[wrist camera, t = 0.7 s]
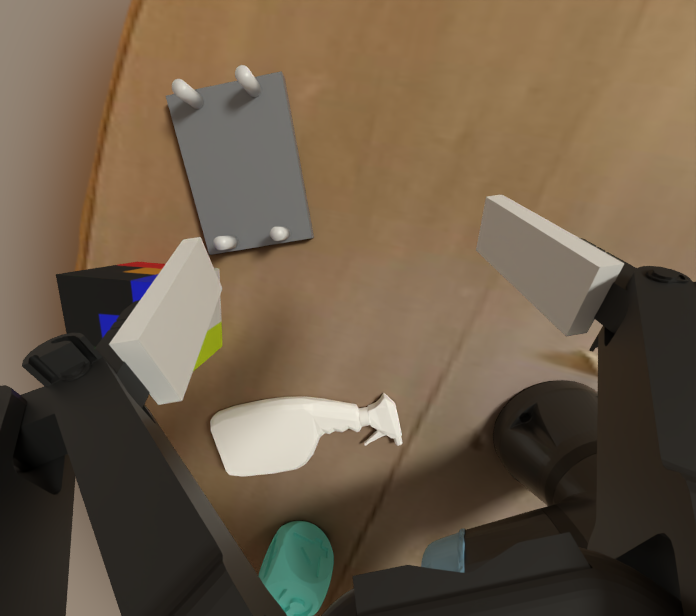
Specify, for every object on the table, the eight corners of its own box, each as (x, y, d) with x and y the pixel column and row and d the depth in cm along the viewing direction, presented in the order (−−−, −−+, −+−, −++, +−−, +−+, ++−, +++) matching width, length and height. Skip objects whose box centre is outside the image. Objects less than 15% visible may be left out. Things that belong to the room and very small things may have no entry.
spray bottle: (213, 403, 41) (390, 373, 39) (236, 469, 44) (403, 443, 42) (202, 417, 38) (393, 384, 37) (228, 485, 41) (406, 459, 39)
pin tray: (313, 237, 34) (307, 239, 30) (214, 254, 35) (195, 257, 31) (284, 77, 30) (272, 54, 26) (172, 100, 31) (145, 81, 27)
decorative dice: (290, 511, 45) (276, 570, 37) (336, 534, 46) (331, 596, 38) (266, 545, 47) (248, 607, 39) (311, 566, 48) (302, 631, 40)
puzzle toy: (219, 268, 36) (167, 283, 26) (222, 345, 38) (176, 385, 29) (137, 261, 36) (55, 274, 26) (145, 339, 39) (74, 376, 29)
